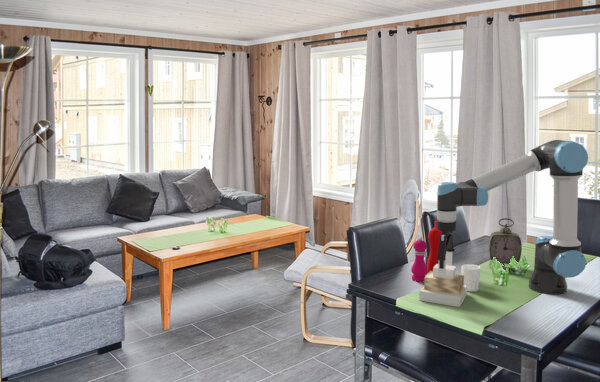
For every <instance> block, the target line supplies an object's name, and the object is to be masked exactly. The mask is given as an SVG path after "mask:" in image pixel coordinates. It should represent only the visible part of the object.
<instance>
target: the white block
mask: <svg viewBox="0 0 600 382" xmlns="http://www.w3.org/2000/svg"><path fill="white" fill-rule="evenodd" d="M456 274H457V266H455V265H452V266H449V265H446V274H445V277H444V276H438V264H436V265H435V266H434V267H433V277H436V278H443V279H451V280H453V279H454V278H455V276H456Z"/></svg>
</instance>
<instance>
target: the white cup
mask: <svg viewBox="0 0 600 382" xmlns="http://www.w3.org/2000/svg"><path fill="white" fill-rule="evenodd" d="M460 270H461V271H460V272H461V274H460V275H464V285H467V292H477V291H479V284H480V277H481V266H479V265H477V264H472V263H469V264H468V263H467V264H462V265H461V269H460Z"/></svg>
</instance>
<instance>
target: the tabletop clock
mask: <svg viewBox="0 0 600 382" xmlns="http://www.w3.org/2000/svg"><path fill="white" fill-rule="evenodd" d="M504 220H505V221H511V223H512V224H511V225H508V224H507V223H504V224H501V221H504ZM498 225H499V226H501V227H502V228H501V229H500V231H499V230H498V231H493V232H491V233H490V236H489V241H488V253H489V258H490V261H491V260H492V259H493V257H496V259H497V261H499V262H500V263H499V264H501V265H502V264H503V265H504V266H506V265H510V264H509V263H510V259H511V258H512V256H514V258H515V260H516V261H517V262H518V263H520V260H521V257H522V239H521V237H520V235H519V234H518V233H517V232H512V230H511V229H510V227H513V226H514V225H515V222H514V220H513V219H511V218H507V217H504V218H500V219H499V221H498Z"/></svg>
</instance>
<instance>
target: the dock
mask: <svg viewBox="0 0 600 382" xmlns="http://www.w3.org/2000/svg"><path fill="white" fill-rule="evenodd" d="M467 292H468V291H467V285H464V287H463V288H462V290H461V291H460V294H453V293H447V292H440V291H433V290H427V289H424V285H423V287H421V288H420V290H419V293H418V294H419V297H418V299H419V300H418V301H420V302H427V303H433V304H440V305H445V306H450V307H451V306H452V307H458V308H460V307H461V305H462V303H463V302H464V300H465V298H466V297H467V294H468V293H467Z"/></svg>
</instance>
